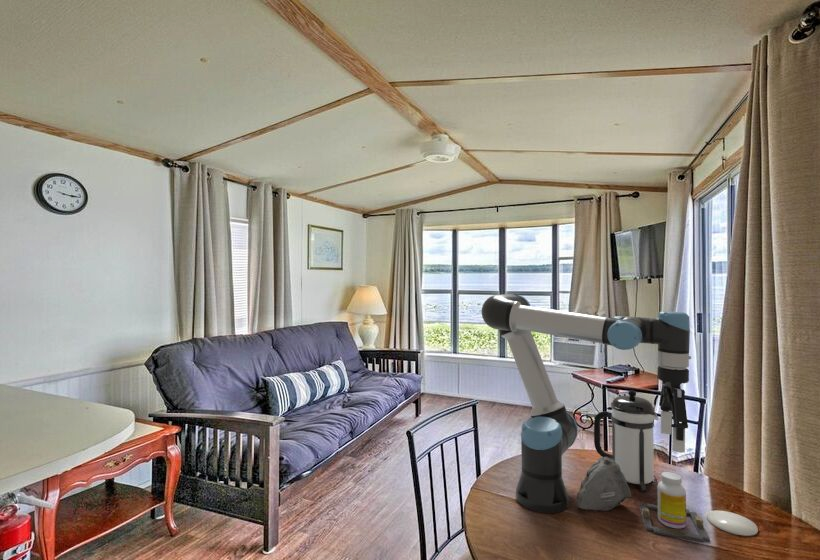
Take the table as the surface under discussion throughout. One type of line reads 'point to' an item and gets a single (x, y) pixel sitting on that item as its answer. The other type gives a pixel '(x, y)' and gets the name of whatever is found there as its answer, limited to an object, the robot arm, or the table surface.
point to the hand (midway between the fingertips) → (671, 442)
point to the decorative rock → (603, 486)
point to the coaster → (732, 523)
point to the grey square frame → (696, 520)
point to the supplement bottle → (671, 501)
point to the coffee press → (631, 438)
